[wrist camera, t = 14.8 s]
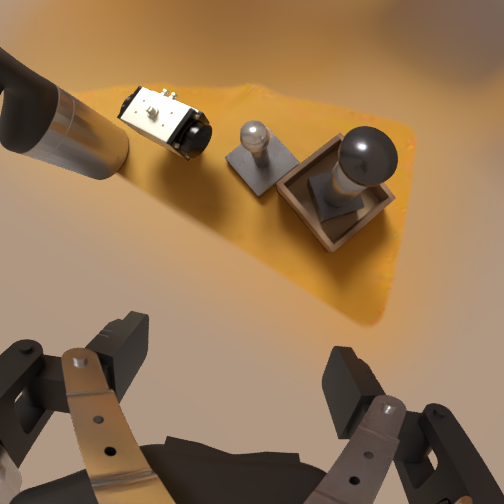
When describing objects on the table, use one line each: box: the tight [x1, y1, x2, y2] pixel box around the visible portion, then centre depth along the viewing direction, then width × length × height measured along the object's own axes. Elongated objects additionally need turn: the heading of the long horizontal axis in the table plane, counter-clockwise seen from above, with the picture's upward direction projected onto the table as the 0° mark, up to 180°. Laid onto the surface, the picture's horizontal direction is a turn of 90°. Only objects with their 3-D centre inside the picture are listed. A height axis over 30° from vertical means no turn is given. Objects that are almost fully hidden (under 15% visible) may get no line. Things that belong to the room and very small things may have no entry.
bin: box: [276, 133, 395, 252], centre depth 34 cm, size 10×10×5 cm
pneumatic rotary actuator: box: [117, 86, 212, 161], centre depth 33 cm, size 6×12×12 cm, turn 57°
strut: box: [306, 126, 398, 223], centre depth 27 cm, size 5×5×18 cm
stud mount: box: [225, 121, 300, 197], centre depth 33 cm, size 7×7×11 cm
